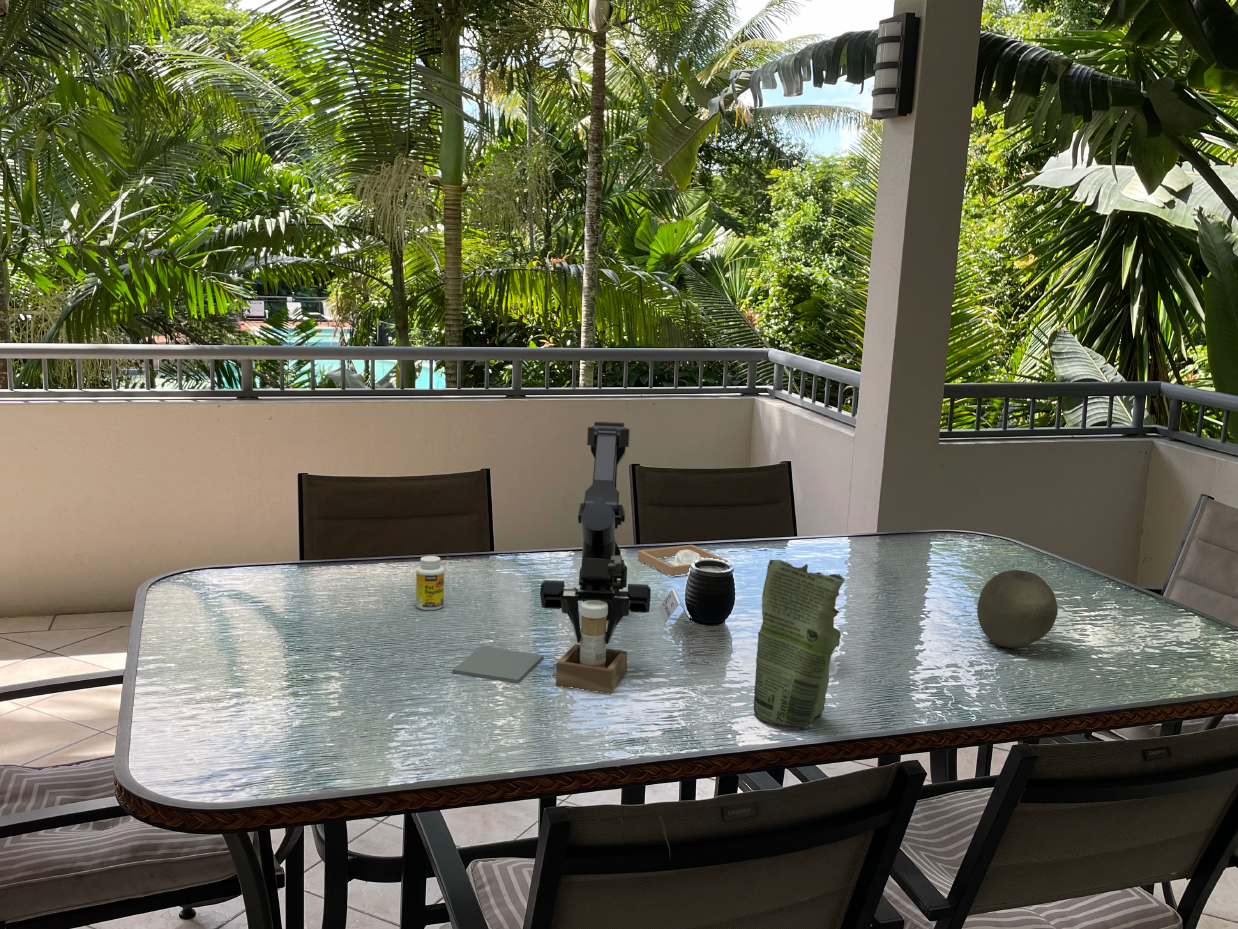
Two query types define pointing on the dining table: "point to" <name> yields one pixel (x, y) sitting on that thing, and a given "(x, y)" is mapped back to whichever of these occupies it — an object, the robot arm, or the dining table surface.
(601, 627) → the sprinkles bottle
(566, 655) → the walnut sleeve
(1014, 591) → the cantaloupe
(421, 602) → the supplement bottle
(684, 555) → the rose
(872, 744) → the dining table surface
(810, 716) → the pouch
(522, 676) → the grey mat
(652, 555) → the wooden square frame
